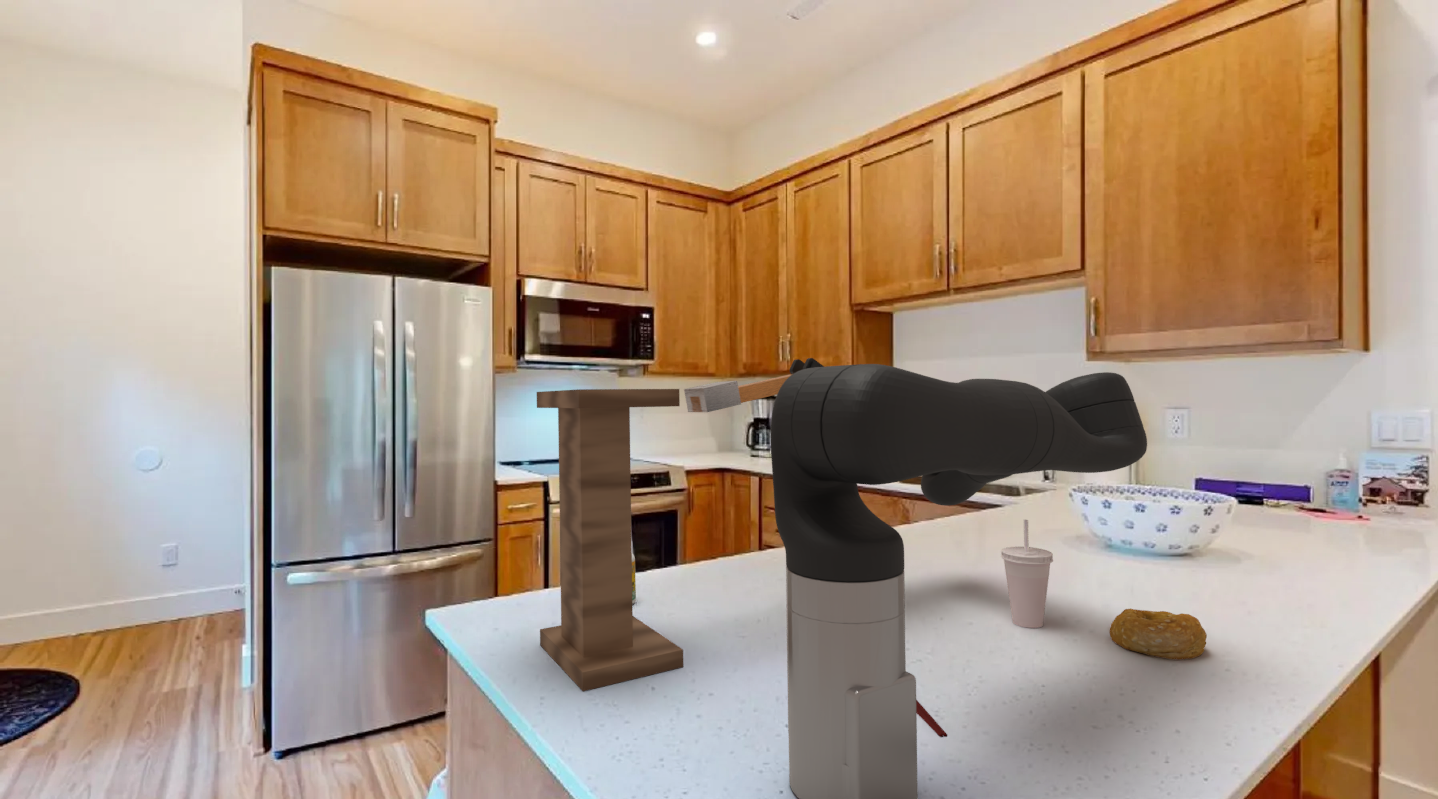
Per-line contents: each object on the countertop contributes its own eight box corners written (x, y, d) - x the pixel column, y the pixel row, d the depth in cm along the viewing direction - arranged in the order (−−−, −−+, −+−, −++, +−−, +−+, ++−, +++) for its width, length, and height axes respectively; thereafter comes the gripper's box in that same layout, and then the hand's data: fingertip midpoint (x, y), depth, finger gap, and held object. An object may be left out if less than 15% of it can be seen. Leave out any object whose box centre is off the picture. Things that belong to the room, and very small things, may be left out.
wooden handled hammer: (842, 380, 93) (838, 358, 93) (707, 412, 82) (703, 388, 82) (819, 381, 98) (815, 360, 97) (688, 412, 87) (683, 389, 86)
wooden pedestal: (683, 666, 78) (679, 388, 78) (582, 691, 71) (578, 389, 71) (628, 627, 91) (624, 391, 91) (540, 645, 85) (536, 391, 85)
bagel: (1201, 638, 85) (1200, 600, 85) (1212, 671, 75) (1211, 628, 75) (1109, 627, 90) (1108, 591, 90) (1109, 656, 80) (1108, 616, 80)
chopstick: (937, 742, 61) (937, 731, 61) (848, 646, 85) (848, 639, 85) (957, 740, 61) (957, 729, 61) (863, 645, 85) (863, 638, 85)
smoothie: (999, 627, 89) (998, 521, 89) (1004, 613, 95) (1002, 514, 95) (1053, 634, 86) (1052, 525, 86) (1054, 619, 92) (1053, 517, 92)
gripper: (857, 401, 107) (780, 345, 100) (925, 401, 95) (843, 336, 88) (840, 443, 105) (760, 389, 98) (907, 448, 94) (821, 386, 86)
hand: (800, 364), depth 93 cm, fingers closed on wooden handled hammer, 2 cm apart
